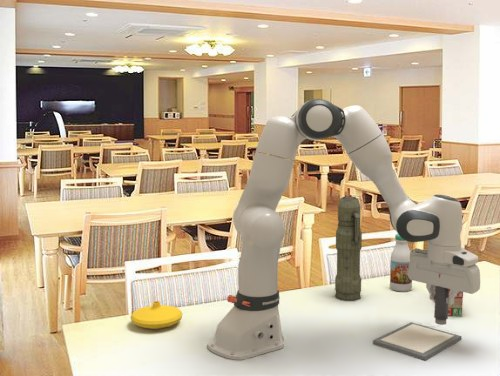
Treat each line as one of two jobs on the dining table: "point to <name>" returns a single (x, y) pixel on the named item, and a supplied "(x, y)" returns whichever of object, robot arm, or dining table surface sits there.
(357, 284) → the thermos
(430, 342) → the writing board
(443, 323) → the marker
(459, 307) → the stack of blocks
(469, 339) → the dining table surface
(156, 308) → the yellow lid
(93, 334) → the dining table surface
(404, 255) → the milk bottle
